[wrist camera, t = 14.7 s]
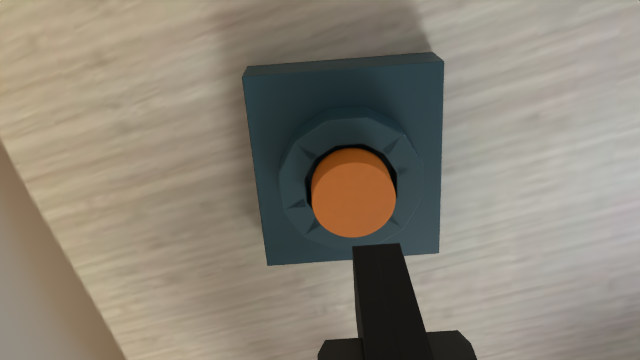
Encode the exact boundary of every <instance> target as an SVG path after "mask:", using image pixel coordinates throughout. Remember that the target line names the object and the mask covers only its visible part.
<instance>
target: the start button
mask: <svg viewBox="0 0 640 360" xmlns="http://www.w3.org/2000/svg"><path fill="white" fill-rule="evenodd" d="M311 190H312V209H313V212H314V214H315V217H316V218H317V220H318V221H319V223H320V224H321V225H322V226H323V227H324V228H326V229H327V230H328V231H330V232H332V233H334V234H336V235H339V236H343V237H362V236H366V235H368V234H371V233H373V232H375V231H377V230H378V229H380V228H381V227H382V226H383V225H384V224H385V223H386V222H387V221H388V220H389V218H390V217H391V215H392V213H393V210H394V208H395V203H396V194H395V189H394V186H393V183H392V180H391V178H390V175H389V172H388V170H387V168H386V166H385V164H384V163H383V162H382V160H381V159H380V158H379V157H377V156H376V155H375V154H373V153H371V152H369V151H367V150H364V149H360V148H344V149H340V150H337V151H335V152H332V153H331V154H329V155H328V156H326V157H325V158H324V159H323V160H322V161H321V162H320V163H319V164H318V166H317V167H316V169H315V171H314V173H313V177H312V182H311Z"/></svg>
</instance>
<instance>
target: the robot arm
mask: <svg viewBox="0 0 640 360" xmlns="http://www.w3.org/2000/svg"><path fill="white" fill-rule="evenodd" d="M352 254H353V273H354V291H355V310H356V322H357V330H358V338H350V339H334V340H325V341H324V343H323V345H322V347H321V349H320V351H319V353H318V360H477V358H476V355H475V353H474V350H473V348H472V345H471V343H470V342H469V341H468V340H467V339H466V338H465V337H464V336H463V335H462V334H461V333H460V332H459V331H458V330H454V331H439V332H426V331H425V327H424V324H423V320H422V317H421V314H420V310H419V307H418V303H417V300H416V297H415V293H414V290H413V286H412V283H411V280H410V276H409V273H408V269H407V266H406V263H405V259H404V256H403V252H402V249H401V246H400V243H391V244H376V245H361V246H352Z"/></svg>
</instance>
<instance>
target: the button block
mask: <svg viewBox="0 0 640 360" xmlns="http://www.w3.org/2000/svg"><path fill="white" fill-rule="evenodd" d="M242 81H243V89H244V96H245V104H246V111H247V118H248V126H249V133H250V141H251V148H252V156H253V163H254V170H255V178H256V185H257V193H258V200H259V208H260V215H261V222H262V230H263V237H264V245H265V252H266V259H267V265H268V266H272V265H285V264H299V263H312V262H326V261H340V260H353V254H352V246H361V245H376V244H391V243H400V246H401V249H402V252H403V256H408V255H421V254H435V253H439V234H440V197H441V159H442V122H443V84H444V61H443V60H442V59H441V58H439V57H438V56H437V55H436V54H434V53H433V52H429V53H416V54H403V55H390V56H377V57H364V58H351V59H338V60H325V61H312V62H299V63H286V64H273V65H260V66H248V67H247V68H246V70H245V72H244V74H243V76H242ZM344 148H360V149H364V150H367V151H369V152H371V153H373V154H375V155H376V156H377V157H379V158H380V159H381V160H382V162H383V163H384V164H385V166H386V168H387V170H388V172H389V175H390V178H391V180H392V183H393V186H394V189H395V194H396V203H395V208H394V210H393V213H392V215H391V217H390V218H389V220H388V221H387V222H386V223H385V224H384V225H383V226H382V227H381V228H380V229H378V230H377V231H375V232H373V233H371V234H368V235H366V236H362V237H343V236H339V235H336V234H334V233H332V232H330V231H328V230H327V229H326V228H324V227H323V226H322V225H321V224H320V223H319V221H318V220H317V218H316V217H315V214H314V212H313V209H312V190H311V182H312V177H313V173H314V171H315V169H316V167H317V166H318V164H319V163H320V162H321V161H322V160H323V159H324V158H325V157H326V156H328V155H329V154H331V153H332V152H335V151H337V150H340V149H344Z"/></svg>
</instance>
